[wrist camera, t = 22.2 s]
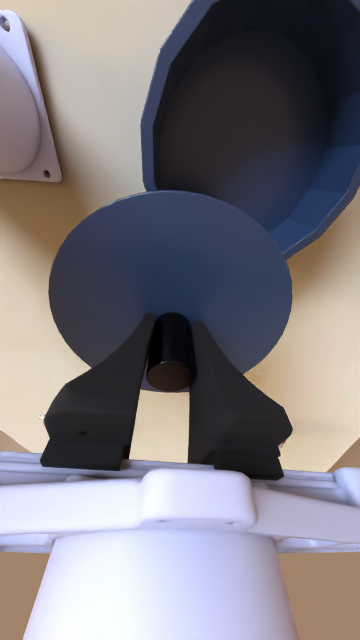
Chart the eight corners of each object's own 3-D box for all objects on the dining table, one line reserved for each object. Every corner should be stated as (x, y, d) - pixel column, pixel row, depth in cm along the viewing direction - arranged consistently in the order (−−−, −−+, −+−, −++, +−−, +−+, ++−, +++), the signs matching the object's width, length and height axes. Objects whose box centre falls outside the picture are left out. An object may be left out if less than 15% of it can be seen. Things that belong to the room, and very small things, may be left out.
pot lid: (124, 394, 20) (110, 454, 16) (-3, 245, 11) (-108, 292, 7) (284, 362, 17) (318, 424, 13) (285, 133, 8) (388, 103, 4)
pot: (153, 272, 22) (147, 296, 18) (144, -93, 10) (123, -260, 6) (279, 279, 22) (301, 303, 18) (411, -60, 11) (549, -194, 7)
